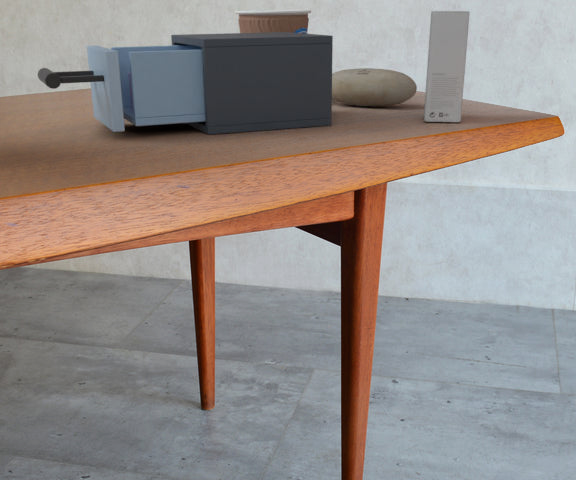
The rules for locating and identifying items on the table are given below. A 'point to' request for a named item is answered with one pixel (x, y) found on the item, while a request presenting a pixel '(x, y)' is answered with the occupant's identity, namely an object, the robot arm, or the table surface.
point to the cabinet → (264, 80)
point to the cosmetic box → (446, 66)
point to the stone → (372, 87)
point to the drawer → (141, 84)
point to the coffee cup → (273, 21)
